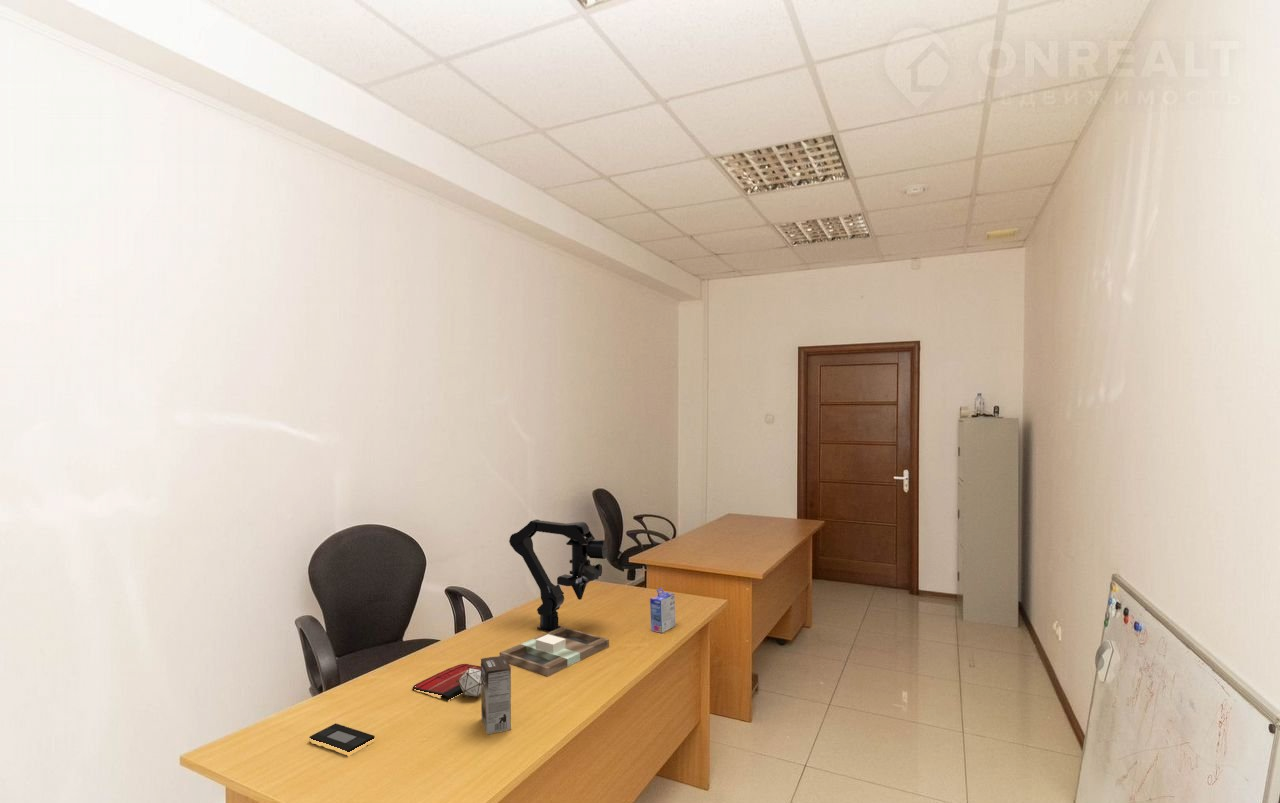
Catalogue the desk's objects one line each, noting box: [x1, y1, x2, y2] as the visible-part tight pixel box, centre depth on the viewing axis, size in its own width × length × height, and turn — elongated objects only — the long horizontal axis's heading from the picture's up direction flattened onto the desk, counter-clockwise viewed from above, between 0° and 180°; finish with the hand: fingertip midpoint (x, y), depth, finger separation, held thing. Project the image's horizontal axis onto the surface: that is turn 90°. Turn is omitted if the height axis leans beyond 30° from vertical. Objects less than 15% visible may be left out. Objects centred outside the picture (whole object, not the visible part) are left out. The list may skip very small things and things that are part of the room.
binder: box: [412, 663, 481, 701], centre depth 189 cm, size 16×2×21 cm
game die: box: [455, 664, 481, 700], centre depth 180 cm, size 9×8×10 cm
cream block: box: [536, 634, 566, 654], centre depth 209 cm, size 8×6×3 cm
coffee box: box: [480, 655, 512, 735], centre depth 163 cm, size 9×6×16 cm
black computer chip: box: [309, 723, 375, 752], centre depth 155 cm, size 8×14×2 cm, turn 63°
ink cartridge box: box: [649, 587, 677, 634], centre depth 235 cm, size 10×6×14 cm, turn 145°
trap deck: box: [499, 626, 610, 677], centre depth 211 cm, size 22×30×2 cm
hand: (579, 599), depth 232 cm, fingers closed
